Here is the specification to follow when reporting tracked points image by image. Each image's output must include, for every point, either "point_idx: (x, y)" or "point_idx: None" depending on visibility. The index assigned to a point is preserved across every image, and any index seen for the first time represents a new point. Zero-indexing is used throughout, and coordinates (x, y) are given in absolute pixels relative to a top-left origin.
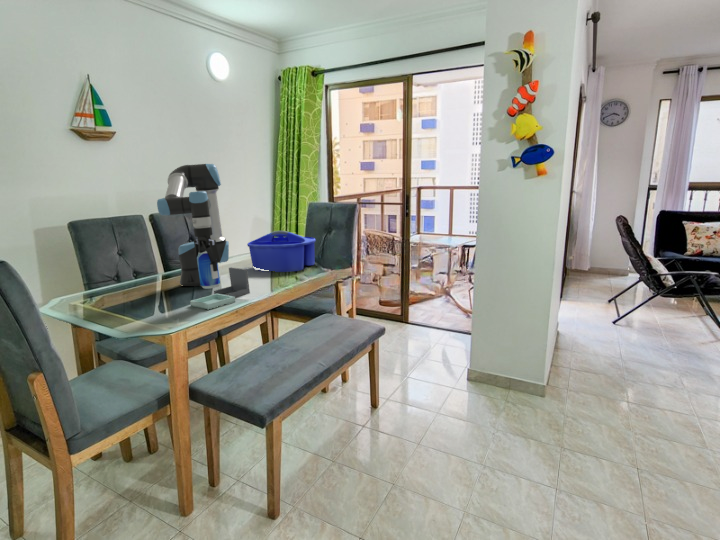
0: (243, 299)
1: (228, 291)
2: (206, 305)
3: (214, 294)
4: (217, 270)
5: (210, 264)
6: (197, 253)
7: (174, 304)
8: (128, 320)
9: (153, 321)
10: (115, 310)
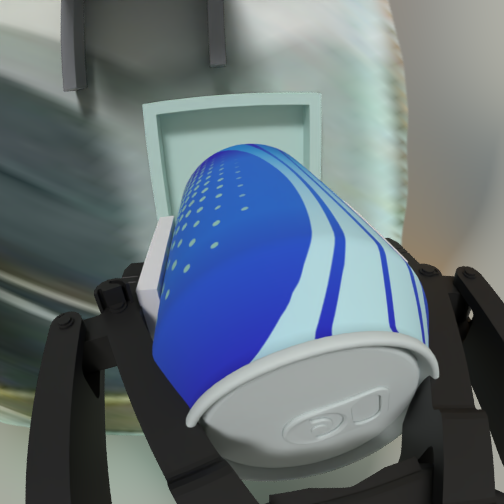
0: (306, 43)
1: (82, 12)
2: None
3: (152, 125)
4: (390, 239)
5: None
6: (99, 431)
7: (77, 276)
8: None
9: None
10: (30, 383)
